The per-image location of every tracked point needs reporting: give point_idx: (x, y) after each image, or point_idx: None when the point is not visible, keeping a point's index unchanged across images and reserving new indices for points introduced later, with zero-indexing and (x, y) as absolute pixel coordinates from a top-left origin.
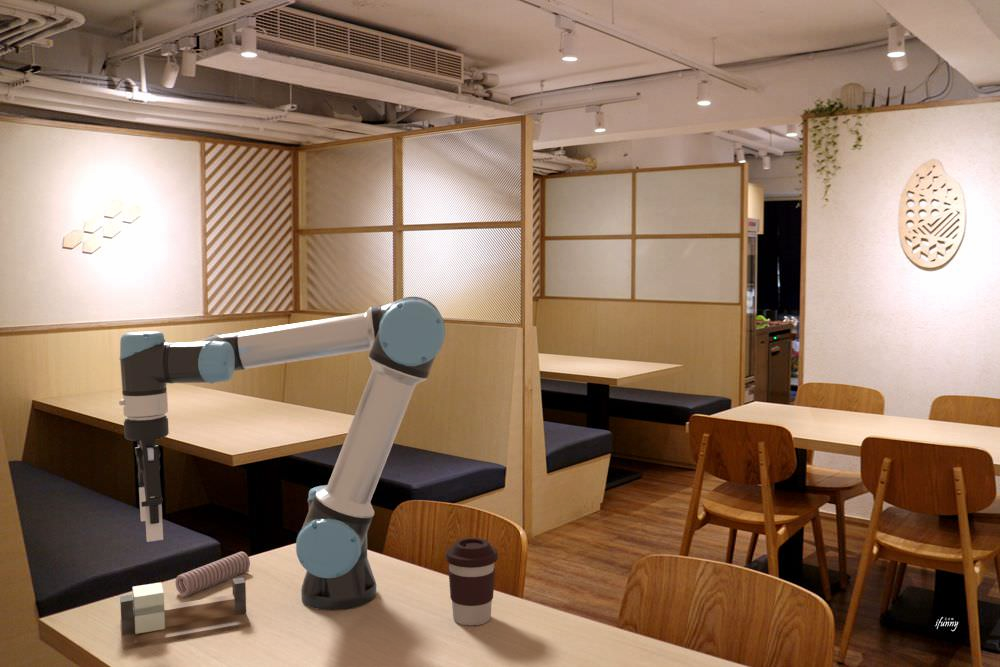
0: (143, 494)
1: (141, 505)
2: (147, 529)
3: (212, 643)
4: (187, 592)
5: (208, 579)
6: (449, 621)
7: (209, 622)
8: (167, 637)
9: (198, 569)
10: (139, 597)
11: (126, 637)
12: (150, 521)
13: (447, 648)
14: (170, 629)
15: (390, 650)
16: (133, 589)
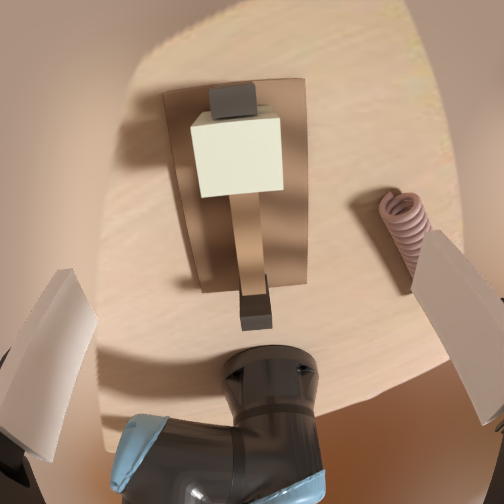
0: (495, 352)
1: (468, 291)
2: (34, 313)
3: (151, 238)
4: (379, 209)
5: (398, 249)
6: (169, 416)
7: (222, 239)
8: (176, 171)
9: (419, 245)
10: (193, 139)
11: (199, 94)
12: (2, 357)
13: (116, 403)
14: None
15: (112, 380)
16: (254, 121)
